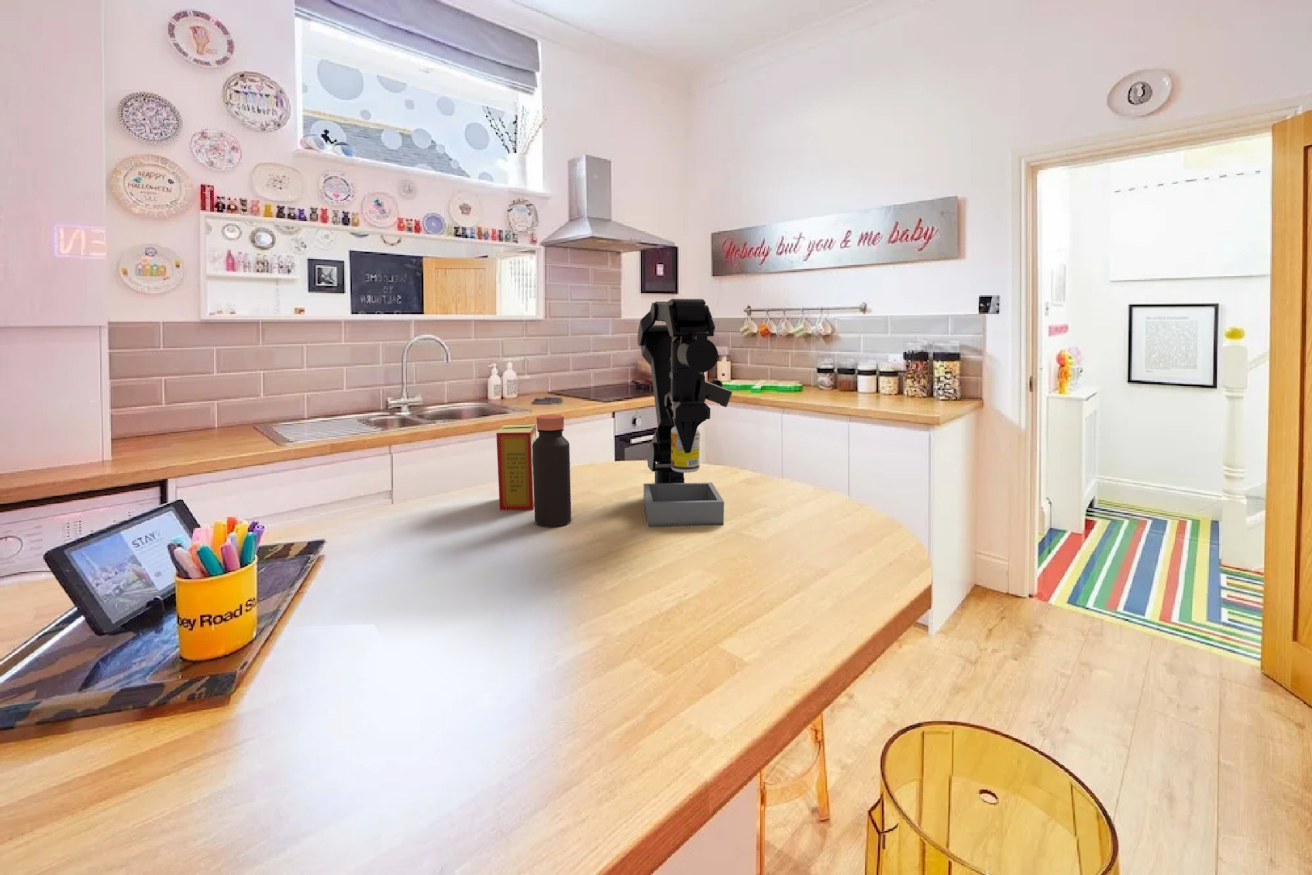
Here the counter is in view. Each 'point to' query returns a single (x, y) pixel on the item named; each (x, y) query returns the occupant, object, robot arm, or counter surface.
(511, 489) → the baking soda box
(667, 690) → the counter surface
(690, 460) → the supplement bottle
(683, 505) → the box
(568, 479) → the vinegar
